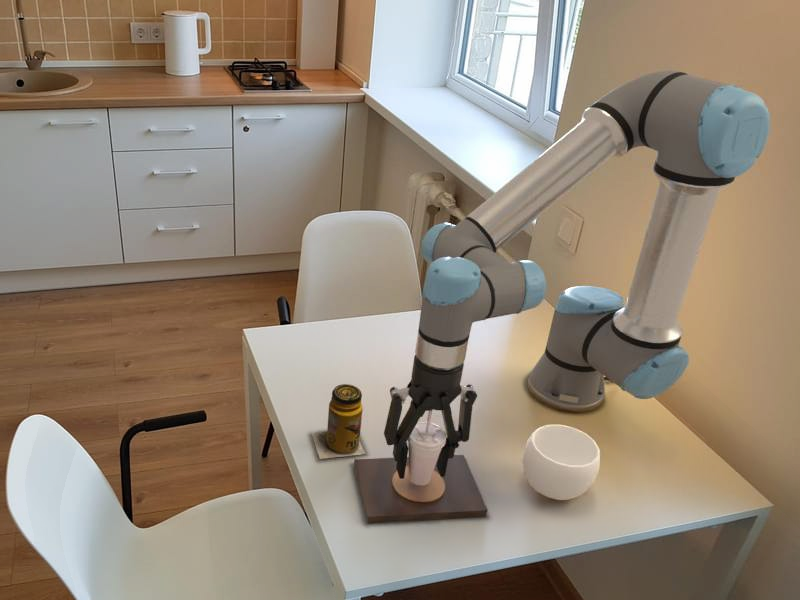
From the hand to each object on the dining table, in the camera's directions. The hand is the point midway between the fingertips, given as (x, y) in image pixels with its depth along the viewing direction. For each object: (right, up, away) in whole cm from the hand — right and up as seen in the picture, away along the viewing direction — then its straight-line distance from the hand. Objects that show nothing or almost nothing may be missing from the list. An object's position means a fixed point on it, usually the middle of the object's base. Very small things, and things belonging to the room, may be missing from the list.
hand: (420, 472), depth 122 cm
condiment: (-14, +3, +12) cm, 18 cm away
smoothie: (0, -1, +1) cm, 2 cm away
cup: (+24, -4, +5) cm, 24 cm away
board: (0, -3, +2) cm, 4 cm away
